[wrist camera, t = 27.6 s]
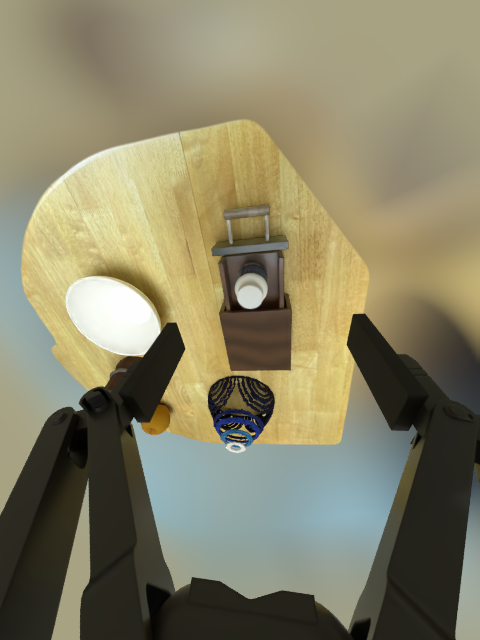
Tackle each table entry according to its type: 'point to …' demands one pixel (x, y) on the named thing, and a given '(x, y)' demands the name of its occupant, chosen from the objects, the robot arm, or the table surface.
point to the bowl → (113, 314)
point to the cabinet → (258, 338)
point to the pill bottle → (251, 285)
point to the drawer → (252, 259)
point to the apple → (158, 421)
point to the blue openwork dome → (240, 412)
